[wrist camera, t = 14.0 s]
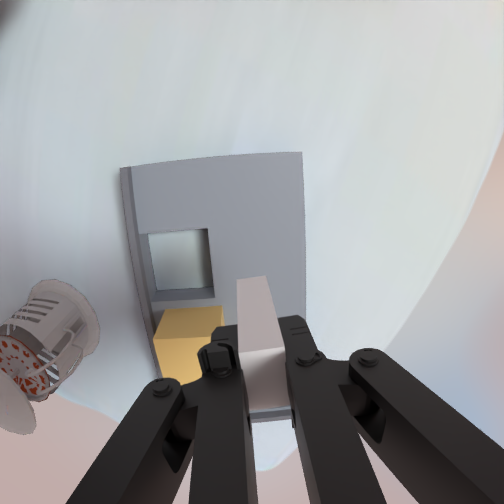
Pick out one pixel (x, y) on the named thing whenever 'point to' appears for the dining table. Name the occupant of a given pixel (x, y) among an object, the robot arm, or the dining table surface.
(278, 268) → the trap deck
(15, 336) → the french press
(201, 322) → the ochre block
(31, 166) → the dining table surface
